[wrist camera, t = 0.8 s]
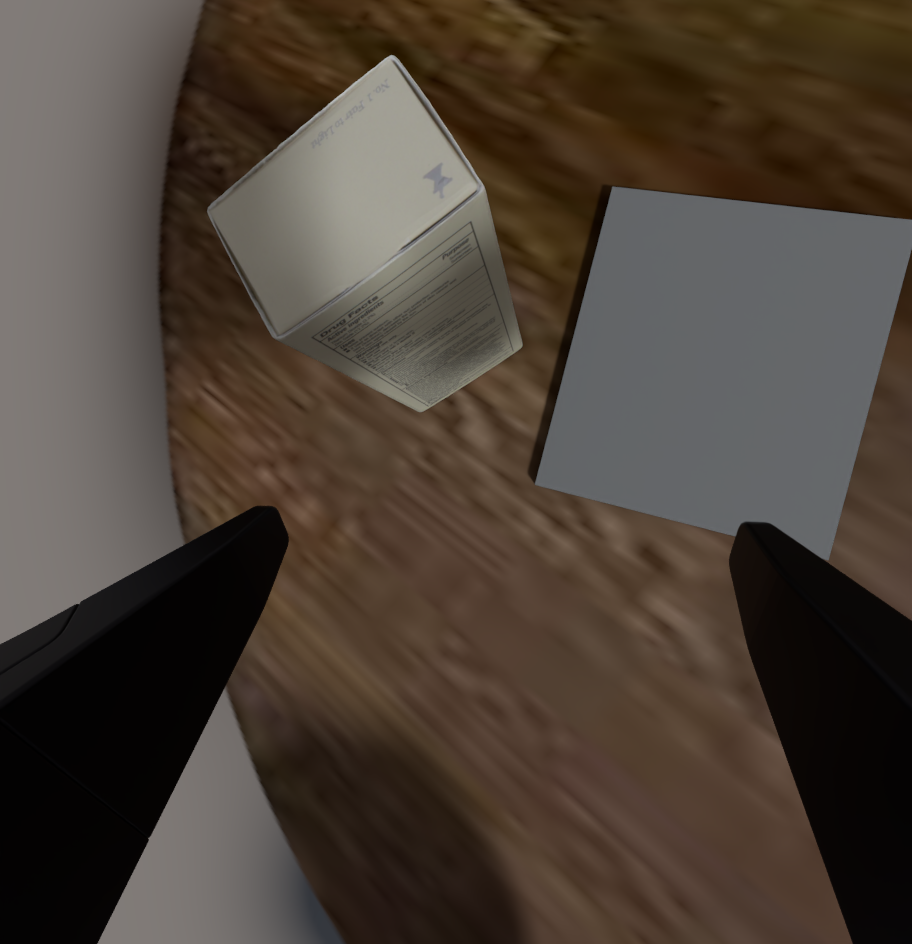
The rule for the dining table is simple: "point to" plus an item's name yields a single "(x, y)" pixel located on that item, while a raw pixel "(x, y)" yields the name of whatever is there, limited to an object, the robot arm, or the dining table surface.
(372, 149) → the skincare box
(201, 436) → the dining table surface
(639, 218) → the slate mat
